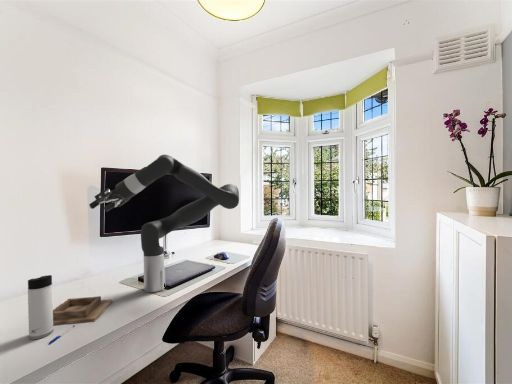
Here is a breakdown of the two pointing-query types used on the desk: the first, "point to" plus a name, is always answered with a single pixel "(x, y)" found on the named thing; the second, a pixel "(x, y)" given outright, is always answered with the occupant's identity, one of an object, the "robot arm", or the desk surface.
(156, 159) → the robot arm
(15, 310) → the desk surface
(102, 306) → the mug holder
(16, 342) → the desk surface
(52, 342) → the ballpoint pen
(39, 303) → the travel mug
